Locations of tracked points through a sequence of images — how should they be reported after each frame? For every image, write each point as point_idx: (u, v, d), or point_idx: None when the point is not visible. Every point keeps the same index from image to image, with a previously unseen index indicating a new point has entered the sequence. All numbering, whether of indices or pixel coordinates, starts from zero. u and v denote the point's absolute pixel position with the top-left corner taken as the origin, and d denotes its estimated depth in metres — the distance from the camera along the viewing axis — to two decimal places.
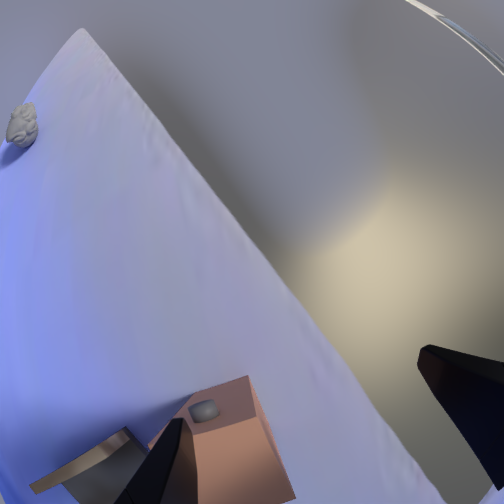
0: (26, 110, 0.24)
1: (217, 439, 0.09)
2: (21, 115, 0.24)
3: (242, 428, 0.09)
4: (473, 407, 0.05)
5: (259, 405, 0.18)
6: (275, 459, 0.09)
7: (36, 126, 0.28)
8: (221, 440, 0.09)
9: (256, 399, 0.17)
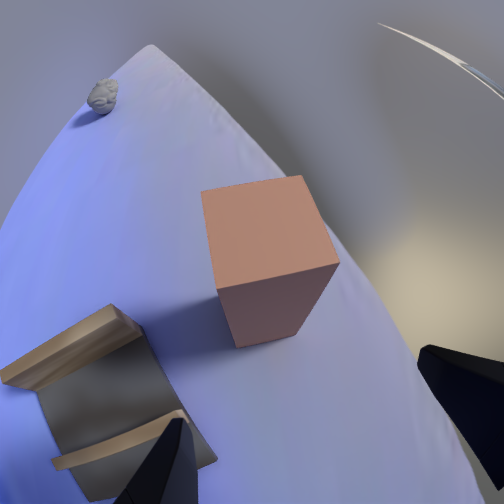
0: (111, 83, 0.37)
1: (267, 187, 0.13)
2: (106, 84, 0.36)
3: (289, 181, 0.13)
4: (473, 407, 0.05)
5: None
6: (317, 212, 0.12)
7: (115, 99, 0.40)
8: (270, 188, 0.13)
9: None
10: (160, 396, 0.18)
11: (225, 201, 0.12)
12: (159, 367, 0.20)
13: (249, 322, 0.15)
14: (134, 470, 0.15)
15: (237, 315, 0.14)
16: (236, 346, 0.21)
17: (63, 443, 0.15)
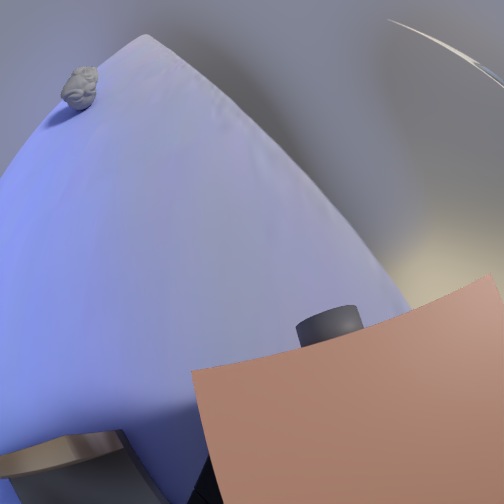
0: (89, 71, 0.27)
1: (433, 336, 0.03)
2: (83, 73, 0.26)
3: (477, 300, 0.03)
4: None
5: None
6: None
7: (95, 91, 0.30)
8: (442, 339, 0.03)
9: None
10: None
11: (300, 426, 0.03)
12: (153, 488, 0.10)
13: None
14: None
15: None
16: None
17: None
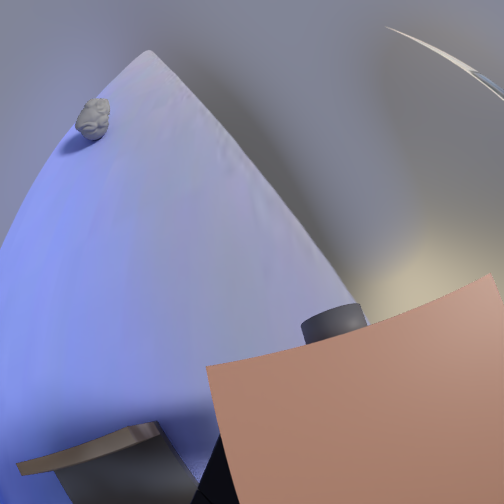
0: (101, 104, 0.33)
1: (437, 332, 0.03)
2: (96, 106, 0.32)
3: (477, 298, 0.03)
4: None
5: None
6: None
7: (107, 122, 0.36)
8: (445, 335, 0.03)
9: None
10: (185, 490, 0.15)
11: (313, 419, 0.03)
12: (181, 464, 0.16)
13: None
14: None
15: None
16: None
17: None
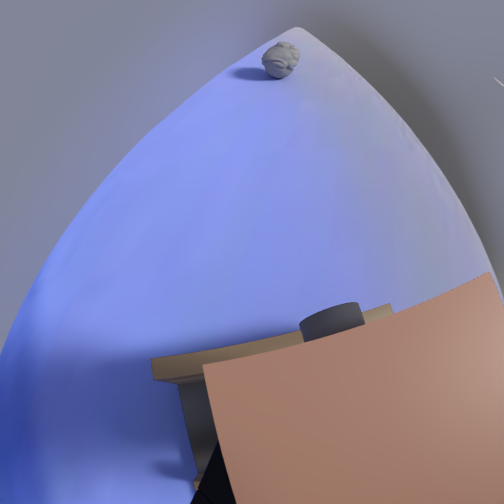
0: (294, 50, 0.36)
1: (434, 331, 0.03)
2: (290, 49, 0.35)
3: (476, 297, 0.03)
4: None
5: None
6: None
7: (293, 68, 0.38)
8: (443, 334, 0.03)
9: None
10: None
11: (309, 418, 0.03)
12: None
13: None
14: None
15: None
16: None
17: (206, 457, 0.14)
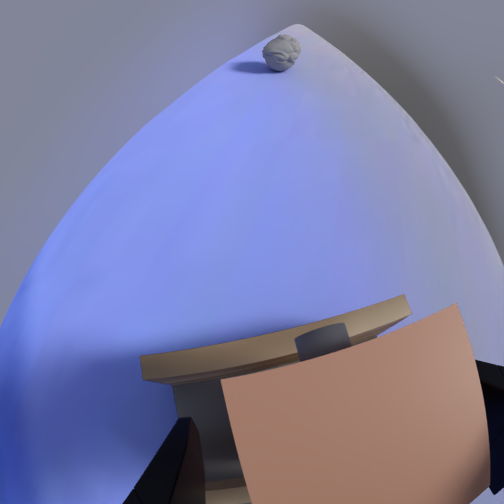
0: (295, 43, 0.34)
1: (399, 355, 0.04)
2: (291, 42, 0.34)
3: (440, 326, 0.04)
4: None
5: None
6: (480, 399, 0.03)
7: (294, 61, 0.37)
8: (406, 357, 0.04)
9: None
10: None
11: (297, 417, 0.04)
12: None
13: None
14: None
15: None
16: None
17: (204, 464, 0.13)
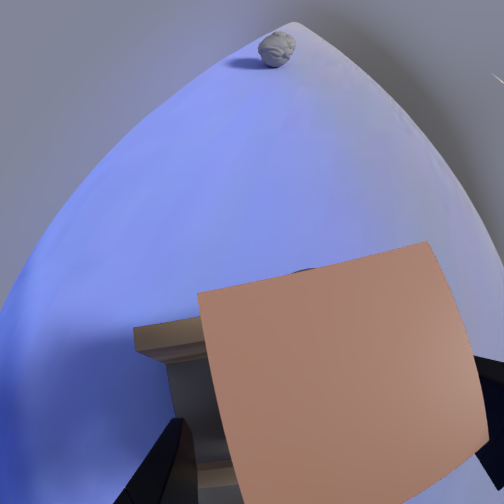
0: (290, 39, 0.35)
1: (369, 279, 0.05)
2: (286, 38, 0.34)
3: (410, 259, 0.05)
4: None
5: None
6: (464, 338, 0.04)
7: (289, 57, 0.38)
8: (377, 282, 0.05)
9: None
10: None
11: (268, 331, 0.04)
12: None
13: None
14: None
15: None
16: None
17: (196, 445, 0.13)
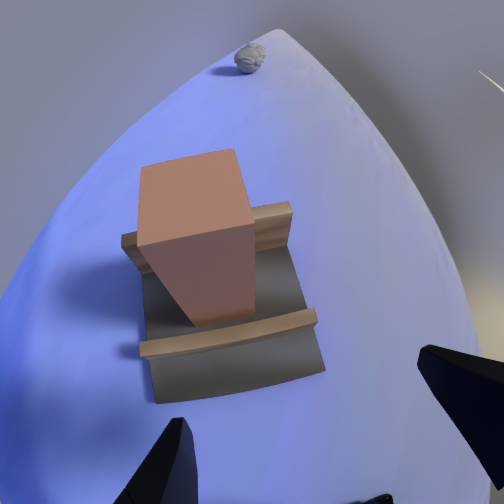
0: (261, 49, 0.43)
1: (198, 160, 0.13)
2: (257, 49, 0.43)
3: (220, 154, 0.13)
4: (473, 407, 0.05)
5: None
6: (241, 179, 0.12)
7: (260, 64, 0.46)
8: (201, 160, 0.13)
9: None
10: (292, 299, 0.23)
11: (159, 174, 0.13)
12: None
13: (191, 292, 0.16)
14: (237, 369, 0.20)
15: (174, 282, 0.14)
16: (194, 324, 0.21)
17: (155, 331, 0.22)
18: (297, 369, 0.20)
